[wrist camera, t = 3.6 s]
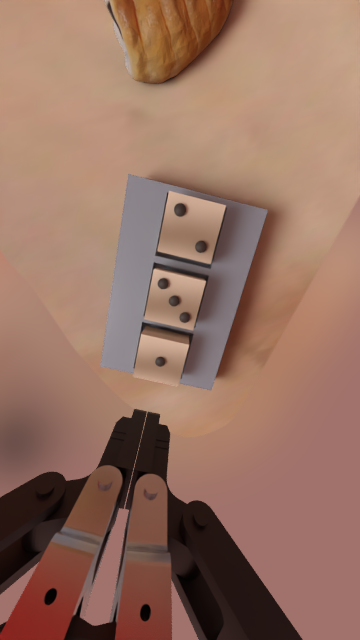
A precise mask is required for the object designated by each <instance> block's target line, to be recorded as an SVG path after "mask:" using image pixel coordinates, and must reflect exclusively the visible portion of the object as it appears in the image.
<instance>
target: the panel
mask: <svg viewBox="0 0 360 640" xmlns="http://www.w3.org/2000/svg"><path fill="white" fill-rule="evenodd" d="M169 191H172V192H176V193H180V194H184V195H188V196H192V197H195V198H199V199H203V200H207V201H211V202H215V203H219V204H223V205H226V208H225V212H224V215H223V219H222V223H221V227H220V230H219V234H218V238H217V242H216V246H215V249H214V253H213V257H212V261H211V264H207V263H203V262H199V261H195V260H191V259H187V258H183V257H178V256H174V255H170V254H166V253H162V252H158V251H157V250H158V245H159V240H160V235H161V229H162V224H163V219H164V214H165V209H166V204H167V199H168V193H169ZM267 212H268V210H267V209H263V208H259V207H255V206H251V205H247V204H243V203H239V202H236V201H232V200H228V199H224V198H220V197H216V196H212V195H208V194H204V193H200V192H197V191H193V190H189V189H185V188H181V187H177V186H173V185H169V184H165V183H162V182H158V181H154V180H150V179H146V178H142V177H138V176H134V175H130V174H128V180H127V187H126V194H125V201H124V208H123V214H122V221H121V228H120V235H119V242H118V249H117V256H116V263H115V269H114V276H113V283H112V290H111V297H110V304H109V311H108V318H107V324H106V331H105V338H104V345H103V352H102V359H101V367H106V368H110V369H115V370H120V371H124V372H129V373H134V368H135V363H136V358H137V353H138V348H139V342H140V337H141V333H142V332H143V330H144V328H145V327H146V326H150V327H154V328H158V329H163V330H167V331H172V332H176V333H180V334H185V335H189V348H188V352H187V355H186V359H185V363H184V367H183V371H182V374H181V378H180V382H179V384H184V385H188V386H193V387H198V388H202V389H207V390H212V387H213V384H214V380H215V377H216V374H217V371H218V368H219V365H220V361H221V358H222V355H223V352H224V349H225V345H226V342H227V339H228V336H229V333H230V330H231V326H232V323H233V320H234V317H235V314H236V311H237V307H238V304H239V301H240V298H241V295H242V291H243V288H244V285H245V282H246V279H247V276H248V272H249V269H250V266H251V263H252V260H253V256H254V253H255V250H256V247H257V244H258V241H259V237H260V234H261V231H262V228H263V225H264V221H265V218H266V215H267ZM155 268H161V269H166V270H170V271H174V272H178V273H182V274H186V275H191V276H195V277H199V278H203V279H204V280H205V281H206V283H205V287H204V291H203V295H202V299H201V302H200V306H199V310H198V314H197V318H196V321H195V325H194V329H193V330H189V329H184V328H180V327H175V326H171V325H167V324H162V323H158V322H154V321H149V320H145V319H144V317H145V312H146V306H147V301H148V296H149V291H150V286H151V281H152V276H153V270H154V269H155Z"/></svg>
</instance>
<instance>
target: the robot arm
mask: <svg viewBox="0 0 360 640" xmlns="http://www.w3.org/2000/svg"><path fill="white" fill-rule="evenodd" d="M146 413H147V411H142V410H138V409H134V412H133V415H132V418H127V417H122V418H121V419H120V420H119V421H118V422H117V423H116V425H115V427H114V429H113V432H112V434H111V437H110V439H109V441H108V444H107V446H106V449H105V451H104V453H103V456H102V458H101V461H100V463H99V465H98V467H97V468H96V470H94V471H93V472H92V473H91V474H90V475H89V476H87V477H85V478H82V479H77V480H70V481H66V480H65V478H64V476H63V475H61V474H60V473H58V472H47V473H43V474H41V475H39V476H37V477H35V478H34V479H32V480H30V481H28V482H27V483H25V484H23V485H21V486H20V487H18V488H16V489H14V490H12V491H11V492H9V493H7V494H5V495H4V496H2V497H1V498H0V594H1V593H2V592H4V591H5V590H6V589H7V588H9V587H10V586H11V585H12V584H13V583H14V582H16V581H17V580H18V579H19V578H20V577H21V576H23V575H24V574H25V573H26V572H27V571H29V570H30V569H31V568H32V567H33V566H35V565H36V564H37V563H38V562H39V561H40V562H39V563H38V565H37V567H36V569H35V571H34V573H33V574H32V577H31V578H30V580H29V582H28V584H27V586H26V587H25V589H24V591H23V593H22V595H21V597H20V599H19V600H18V602H17V604H16V606H15V608H14V610H13V611H12V614H11V615H10V617H9V619H8V621H7V622H5V623H3V624H1V625H0V640H172V600H171V579H172V581H173V583H174V585H175V588H176V590H177V592H178V595H179V597H180V599H181V601H182V603H183V606H184V608H185V610H186V612H187V614H188V616H189V619H190V621H191V623H192V625H193V628H194V630H195V632H196V634H197V637H198V639H199V640H302V638H301V637H300V635H299V634H298V632H297V631H296V630H295V628H294V627H293V625H292V624H291V622H290V621H289V620H288V618H287V617H286V615H285V614H284V613H283V611H282V610H281V608H280V607H279V605H278V604H277V602H276V601H275V599H274V598H273V597H272V595H271V594H270V592H269V591H268V589H267V588H266V587H265V585H264V584H263V582H262V581H261V579H260V578H259V577H258V575H257V574H256V572H255V571H254V569H253V568H252V566H251V565H250V564H249V562H248V561H247V559H246V558H245V556H244V555H243V554H242V552H241V551H240V549H239V548H238V546H237V545H236V544H235V542H234V541H233V539H232V538H231V536H230V535H229V534H228V532H227V531H226V529H225V528H224V526H223V525H222V523H221V522H220V521H219V519H218V518H217V516H216V515H215V513H214V512H213V511H212V509H211V508H210V507H209V506H208V505H207V504H206V503H204V502H202V501H192V502H189V503H188V504H186V503H184V502H183V501H181V500H179V499H178V498H176V497H175V496H174V495H173V494H172V493H171V491H170V490H169V488H168V485H167V479H166V478H167V464H168V453H169V441H170V432H169V429H168V427H167V426H166V425H161V424H159V418H160V414H157V413H152V412H148V413H147V417H146ZM145 417H146V422H145ZM144 422H145V426H144ZM143 426H144V430H143ZM142 430H143V434H142ZM141 435H142V438H141ZM140 439H141V442H140ZM139 443H140V447H139ZM138 447H139V451H138ZM137 451H138V455H137ZM136 456H137V459H136ZM135 460H136V463H135ZM134 463H135V468H134ZM133 468H134V472H133ZM132 472H133V476H132V481H131V485H130V489H129V494H128V498H127V502H126V507H125V509H128V510H129V514H128V518H127V523H126V527H125V531H124V537H123V543H122V549H121V556H120V562H119V568H118V575H117V581H116V588H115V594H114V600H113V605H112V610H111V616H110V621H109V623H106V624H102V625H98V626H92V625H91V624H89V623H87V622H86V621H85V620H83V619H84V616H85V612H86V609H87V606H88V602H89V598H90V595H91V592H92V589H93V586H94V582H95V580H96V577H97V573H98V571H99V568H100V564H101V562H102V558H103V555H104V552H105V550H106V546H107V543H108V540H109V537H110V534H111V531H112V528H113V526H114V524H115V521H116V517H117V513H118V510H119V508H123V509H124V505H125V501H126V496H127V492H128V488H129V484H130V480H131V475H132Z"/></svg>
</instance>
